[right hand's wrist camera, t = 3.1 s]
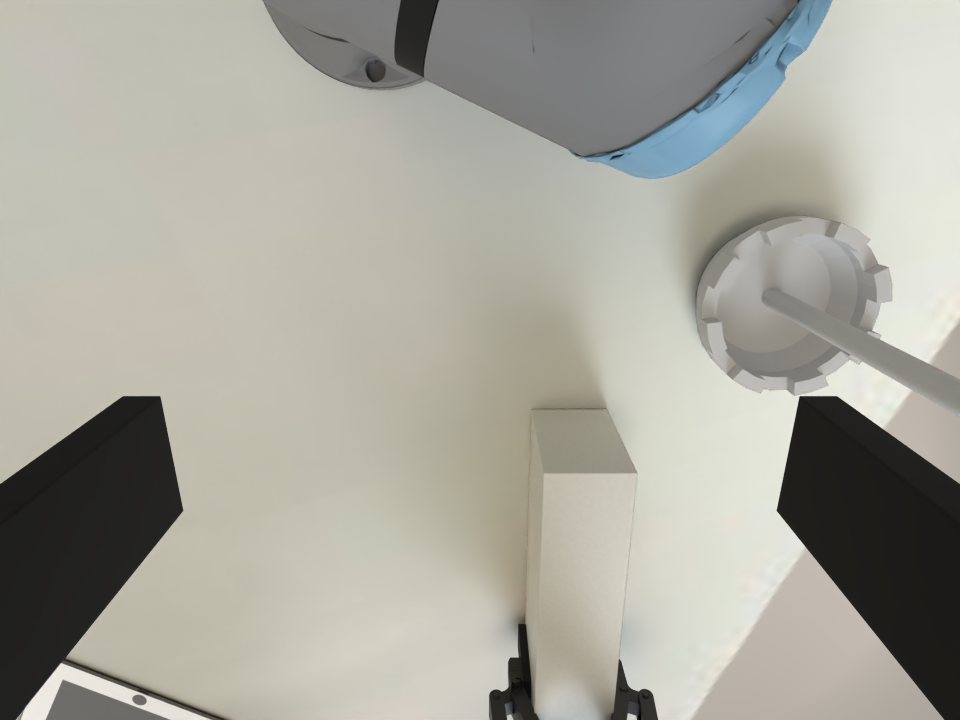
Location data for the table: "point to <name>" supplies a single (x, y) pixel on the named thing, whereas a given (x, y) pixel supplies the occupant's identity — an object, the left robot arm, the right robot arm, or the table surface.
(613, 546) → the box
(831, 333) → the flag stand
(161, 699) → the tablet
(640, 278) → the table surface
